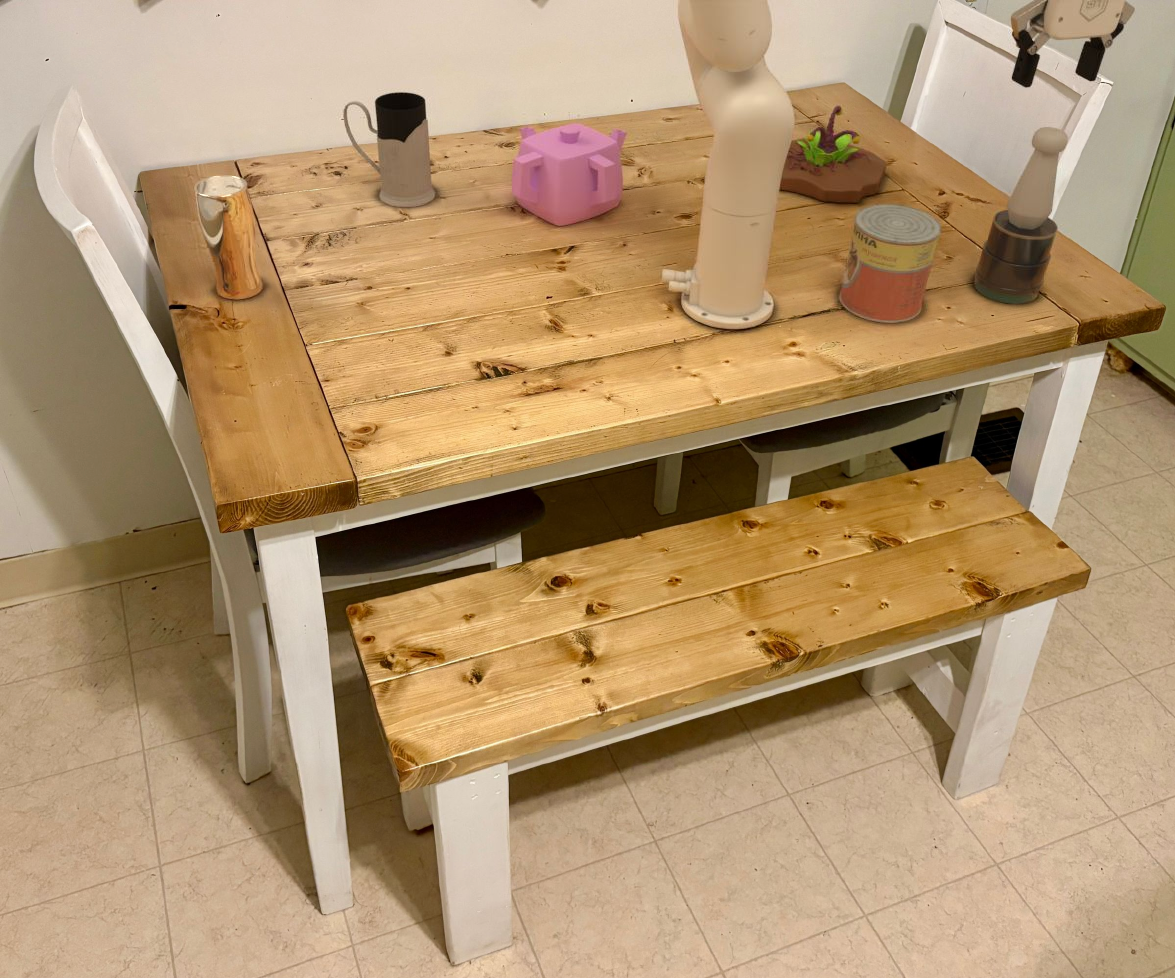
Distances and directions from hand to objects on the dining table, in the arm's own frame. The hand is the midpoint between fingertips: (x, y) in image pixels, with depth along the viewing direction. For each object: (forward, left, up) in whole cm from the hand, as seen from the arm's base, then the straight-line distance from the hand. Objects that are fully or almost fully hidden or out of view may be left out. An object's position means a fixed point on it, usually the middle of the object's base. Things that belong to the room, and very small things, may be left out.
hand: (1053, 80), depth 140 cm
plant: (-24, +35, -31) cm, 52 cm away
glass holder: (-92, +12, -31) cm, 97 cm away
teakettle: (-64, +15, -31) cm, 72 cm away
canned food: (-16, -6, -31) cm, 35 cm away
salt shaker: (+2, +2, -20) cm, 20 cm away
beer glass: (-103, -22, -31) cm, 109 cm away
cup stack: (+2, +2, -30) cm, 30 cm away
